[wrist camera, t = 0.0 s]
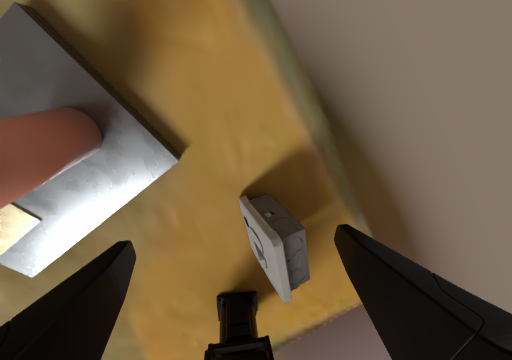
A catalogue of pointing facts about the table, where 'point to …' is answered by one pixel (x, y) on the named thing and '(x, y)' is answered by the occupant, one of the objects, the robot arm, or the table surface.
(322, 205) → the table surface
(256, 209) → the electrical switch
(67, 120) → the post
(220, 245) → the table surface
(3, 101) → the breaker panel
